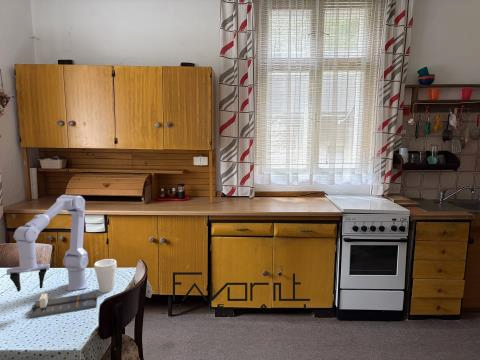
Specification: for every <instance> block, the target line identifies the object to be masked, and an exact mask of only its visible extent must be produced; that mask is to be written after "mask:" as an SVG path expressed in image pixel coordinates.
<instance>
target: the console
mask: <svg viewBox="0 0 480 360" xmlns="http://www.w3.org/2000/svg"><path fill="white" fill-rule="evenodd" d="M97 302H98V291H95V292H89V293H82V294H76V295H68V296H63V297H55V298H48V303H47V306H46V307H44V308H40V300H37V301H35V303H34V304H32V307H31V309H32V310H31V312H30V314H29V318H30V319H33V318H38V317H46V316H50V315H58V314H62V313H68V312H73V311H75V312H76V311H79V310H80V311H81V310H87V309H92V308H97V305H98V303H97Z"/></svg>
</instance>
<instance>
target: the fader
mask: <svg viewBox="0 0 480 360" xmlns="http://www.w3.org/2000/svg"><path fill="white" fill-rule="evenodd" d="M48 299H49V297H48V293H47V292H46V293H41V294H40V298H39V301H40V308H44V307H46V306H47V303H48Z"/></svg>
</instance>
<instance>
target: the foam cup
mask: <svg viewBox="0 0 480 360" xmlns="http://www.w3.org/2000/svg"><path fill="white" fill-rule="evenodd" d="M117 266H118V265H117V260H116V259H114V258H107V259H106V258H104V259H100V260H97V261H96V262H95V263H94V271H95V274H96V279H97V286H98V289H99V292H100V293H110V292H113V290H114V289H115V283H116V275H117V273H116V272H117Z"/></svg>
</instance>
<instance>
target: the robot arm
mask: <svg viewBox="0 0 480 360" xmlns="http://www.w3.org/2000/svg"><path fill="white" fill-rule="evenodd" d="M85 207H86V200H85V198H84V197H83V196H82V195H69V194H62V195H60V196H59V197H57V198H56V201H55V202H54V203H53V204H52V205H51V206H50V207H49V208H48V209H47V210H46V211H45V212H44V213H43V214H42V213H38V214H35V215H34V217H33V218H32V219H31V220H30V221H28V222H26V223H25V225H24V226H23V225H22V226H19V227H18V228H16V229H15V230H14V233H13V235H12V237H13V239H14V240H15V241H16V245H17V248H18V249H17V250H18V259H19V260H18V262H19V266H16V267H11V268H10V267H9V268H7V269H6V276H9V279H10V280H11V281H12V282H13V284H14V286H15V288H16V291H17V292H21V289H22V288H21V287H22V285H21V278H20V277H21V276H20V275H21V274H23V273H24V274H25V273H32V272H37V271H38V279H39V289H43V285H44V279H45V277H46V273H47V271H49V270H50V268H51V267H50V265H51V264H50V263H38V262H37V252H36V250H37V249H36V248H37V247H36V240H37V239H38V237H39V234H40V233H41V232H42V231H43V230H44V229H45V228H46V227H47V226H49V225H50V220H52V219H53V218H54V217H56V216H57V215H58V214H60V213H61V212H62V211H67V212H68V213H69V214H70V215H71V221H70V222H71V224H70V239H69V240H70V241H69V249H67V250H66V251H65V253H64V254H65V255H64V257H63V259H62V264H63V266H64V267H65V268H66V270H67V278H68V279H67V280H68V285H67V290H66V291H67V292H71V291H77V290H85V289H87V287H88V286H87V285H88V279H86V269H87V266H88V265H89V258H88V252H87V251H86V250H85V249H84V248H83V247H84V233H85V232H84V231H85V230H84V229H85V218H86V217H85V214H86V210H85Z"/></svg>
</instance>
